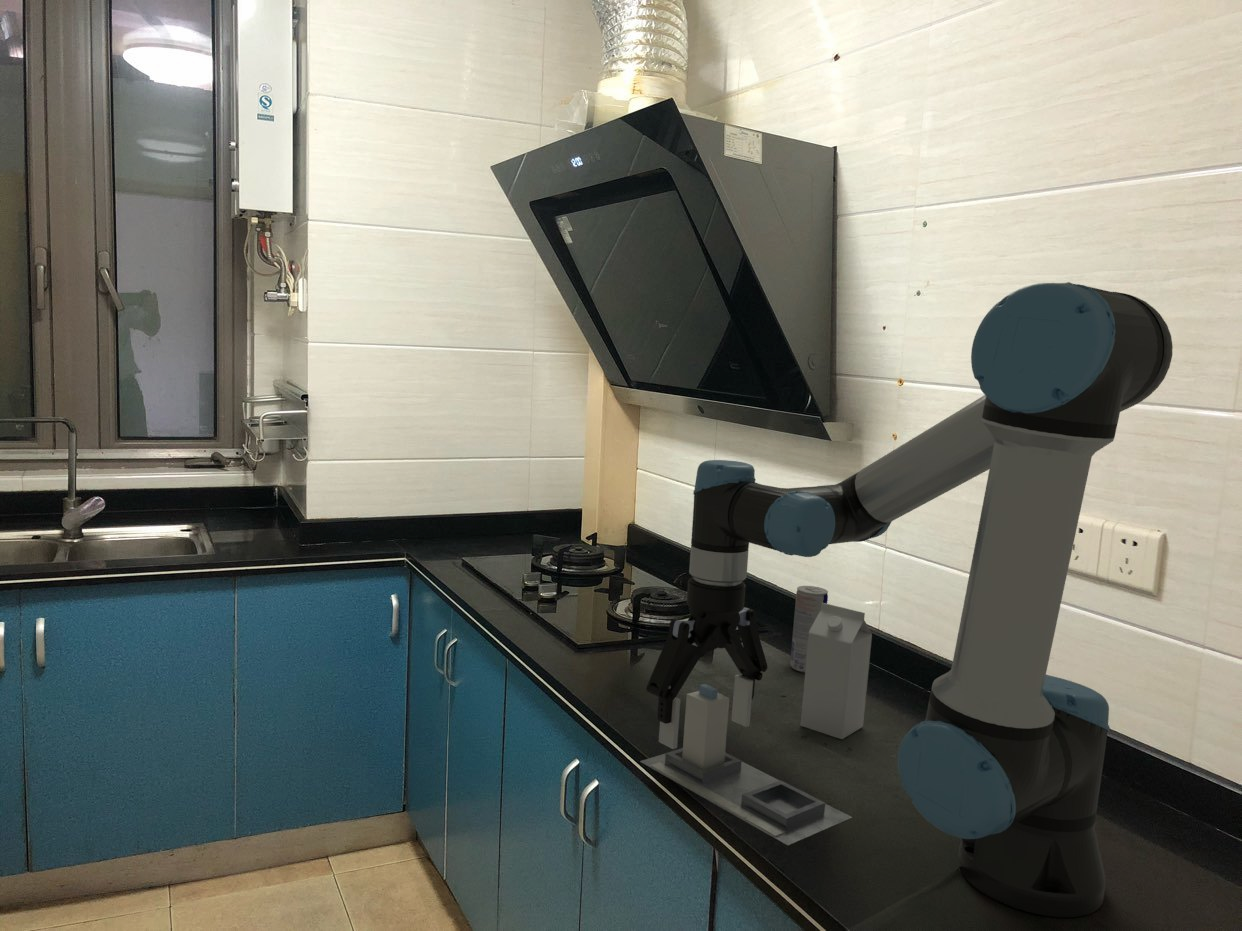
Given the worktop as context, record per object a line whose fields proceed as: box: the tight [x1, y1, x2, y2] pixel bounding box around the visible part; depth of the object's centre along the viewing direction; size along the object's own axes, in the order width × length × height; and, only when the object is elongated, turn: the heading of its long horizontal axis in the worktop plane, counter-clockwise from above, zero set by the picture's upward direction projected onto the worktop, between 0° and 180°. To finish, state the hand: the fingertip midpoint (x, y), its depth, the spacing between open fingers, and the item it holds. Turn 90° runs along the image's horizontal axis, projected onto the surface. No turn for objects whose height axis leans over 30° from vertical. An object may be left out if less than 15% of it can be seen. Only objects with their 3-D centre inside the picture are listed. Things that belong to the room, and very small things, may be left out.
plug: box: [682, 683, 730, 770], centre depth 129 cm, size 4×4×11 cm
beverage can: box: [789, 585, 829, 674], centre depth 174 cm, size 6×6×15 cm
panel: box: [639, 747, 853, 846], centre depth 124 cm, size 26×12×2 cm, turn 40°
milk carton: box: [800, 603, 873, 740], centre depth 148 cm, size 7×7×19 cm
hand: (705, 734), depth 129 cm, fingers open, 13 cm apart
